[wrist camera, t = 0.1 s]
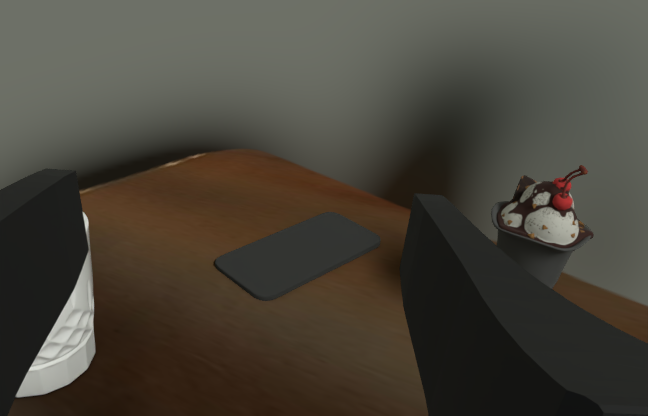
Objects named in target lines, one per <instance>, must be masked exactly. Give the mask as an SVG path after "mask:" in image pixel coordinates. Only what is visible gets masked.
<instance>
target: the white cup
mask: <svg viewBox="0 0 648 416" xmlns="http://www.w3.org/2000/svg"><path fill="white" fill-rule="evenodd" d="M83 217H84V223H85V229H86V235H87V241H88V247H89V251H88V254H87V257H86V260H85V262H84V265H83V268H82V271H81V273H80V276H79V278H78V281H77V284H76V286H75V289H74V290H73V292H72V294H71V296H70V298H69V300H68V302H67V303H66V305H65V307H64V309H63V311H62V312H61V314H60V316H59V318H58V320H57V321H56V323H55V325H54V327H53V328H52V330H51V332H50V334H49V335H48V337H47V339H46V341H45V342H44V344H43V346H42V348H41V349H40V351H39V353H38V355H37V357H36V358H35V360H34V362H33V364H32V365H31V367H30V369H29V371H28V372H27V374H26V376H25V378H24V380H23V382H22V384H21V386H20V388H19V390H18V392H17V394H16V396H15V397H27V396H36V395H44V394H47V393H49V392H52V391H54V390H56V389H59V388H61V387H64V386H66V385H68V384H70V383H71V382H72V381H74V380H75V379H76V378H77V377H78V376H80V375H81V374H82V373H83V372H84V371H86V370H87V369H88V367H89V365H90V363H91V361H92V358H93V356H94V354H95V340H94V328H93V317H94V298H93V275H92V263H91V250H90V237H89V223H88V218H87V216H86V215H85V213H84V212H83Z"/></svg>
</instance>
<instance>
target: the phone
mask: <svg viewBox="0 0 648 416" xmlns="http://www.w3.org/2000/svg"><path fill="white" fill-rule="evenodd" d="M379 245H380V237H379V236H378V235H377V234H375V233H373V232H371V231H370V230H368V229H366V228H364V227H362V226H360V225H358V224H357V223H355V222H353V221H351V220H349V219H347V218H345V217H344V216H342V215H340V214H337V213H334V212H326V213H323V214H320V215H318V216H315V217H313V218H311V219H308V220H306V221H303V222H301V223H299V224H296V225H294V226H291V227H289V228H287V229H284V230H282V231H279V232H277V233H275V234H272V235H270V236H267V237H265V238H263V239H260V240H258V241H255V242H253V243H251V244H248V245H246V246H243V247H241V248H239V249H236V250H234V251H231V252H229V253H226V254H224V255H222V256H220V257H218V258H217V259H216V261H215V266H216V268H217V269H218V270H219V271H220V272H221V273H223V274H224V275H225V276H227V277H228V278H229V279H231V280H232V281H233V282H234V283H236V284H237V285H238V286H240V287H241V288H242V289H244V290H245V291H246V292H248V293H249V294H250V295H252V296H253V297H254V298H256V299H259V300H262V301H269V300H273V299H276V298H278V297H280V296H282V295H284V294H286V293H288V292H290V291H292V290H294V289H296V288H298V287H300V286H302V285H304V284H306V283H308V282H310V281H312V280H314V279H316V278H318V277H320V276H322V275H324V274H326V273H328V272H330V271H332V270H334V269H336V268H338V267H340V266H342V265H344V264H346V263H348V262H350V261H352V260H354V259H356V258H358V257H360V256H362V255H364V254H366V253H368V252H369V251H371V250H373V249H375V248H377V247H378V246H379Z"/></svg>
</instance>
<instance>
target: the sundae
mask: <svg viewBox="0 0 648 416" xmlns="http://www.w3.org/2000/svg"><path fill="white" fill-rule="evenodd" d="M578 171H581V173H580V174H577V175H574V176H572V177H571V178H570V179H569V180H567V178H568V177H569V176H570V175H572V174H573V173H575V172H578ZM587 172H588V171H587V170H586V168H585V167H584V166H582V165H580V166H579V169H578V170H575V171H573V172H571V173H569V174H568V175H567V176H566V177H565V178H556V179H555V180H554V182H549V181H548V182H547V181H544V182H536V181H535V180H533V179H531V178H529V177H527V176H522V177H521V179H520V182H519V184H518V186H517V189H516V191H515V194H514V197H513V199H512V200H511V201H510V202H508V201H505V202H498V203H496V204H495V205H494V206H493V208H492V211H491V216H492V222H493V224H494V226H495V227H496V228H497V229H498V240H497V247H498V248H500V249H501V250H502V251H503V252H504V253H505V254H506V255H508V256H509V257H510V258H511V259H513V260H514V261H515V262H516V263H517V264H519V265H520V266H521V267H522V268H524V269H525V270H526V271H527V272H529V273H530V274H531V275H533V276H534V277H535V278H537V279H538V280H539V281H541V282H542V283H544V284H545V285H547V286H548V287H550V288H551V289H552V288H553V286H554V285H555V283H556V282H557V280H558V278H559V276H560V274H561V272H562V270H563V268H564V266H565V264H566V262H567V260H568V259H569V257H570V255H571V253H572V252H573V251H574V250H576V249H578V248H580V247H581V246H583V245H584V244H585V243H586V242H587V241H588V240H589V239H591V238H593V233H592V231H591V229H589V227H588V226H586V225H585V224H583V223H582V222H581V221H580V220H578V219H577V216H576V214H575V212H574V204H573V199H572V197H571V195H570V193H569V190H570V188H571V183H570V180H572V179H573V178H575V177H577V176H580V175H583V174H587Z"/></svg>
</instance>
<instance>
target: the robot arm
mask: <svg viewBox="0 0 648 416" xmlns="http://www.w3.org/2000/svg"><path fill="white" fill-rule="evenodd" d="M88 251H89V247H88V241H87V235H86V229H85V223H84V217H83V211H82V205H81V199H80V193H79V187H78V181H77V176H76V171H72V170H57V169H44V170H42V171H39V172H37V173H34V174H32V175H30V176H28V177H25V178H23V179H21V180H19V181H17V182H15V183H13V184H11V185H9V186H7V187H5V188H3V189H1V190H0V416H7V415H8V413H9V411H10V408H11V406H12V403H13V401H14V399H15V396H16V394H17V392H18V390H19V388H20V386H21V384H22V382H23V380H24V378H25V376H26V374H27V372H28V371H29V369H30V367H31V365H32V364H33V362H34V360H35V358H36V357H37V355H38V353H39V351H40V349H41V348H42V346H43V344H44V342H45V341H46V339H47V337H48V335H49V334H50V332H51V330H52V328H53V327H54V325H55V323H56V321H57V320H58V318H59V316H60V314H61V312H62V311H63V309H64V307H65V305H66V303H67V302H68V300H69V298H70V296H71V294H72V292H73V290H74V289H75V286H76V284H77V281H78V278H79V276H80V273H81V271H82V268H83V265H84V262H85V260H86V257H87V254H88ZM400 277H401V288H402V297H403V306H404V311H405V315H406V319H407V324H408V328H409V332H410V336H411V340H412V344H413V348H414V352H415V356H416V360H417V364H418V369H419V373H420V377H421V381H422V385H423V389H424V393H425V398H426V403H427V408H428V414H429V416H648V344H647V343H645V342H643V341H641V340H639V339H637V338H635V337H633V336H631V335H629V334H627V333H625V332H623V331H621V330H619V329H617V328H615V327H613V326H612V325H610V324H608V323H606V322H605V321H603V320H601V319H599V318H597V317H596V316H594V315H592V314H590V313H589V312H587V311H585V310H583V309H582V308H580V307H578V306H577V305H575V304H574V303H572V302H570V301H569V300H567V299H566V298H564V297H563V296H561V295H560V294H558V293H557V292H555V291H554V290H552V289H551V288H550V287H548V286H547V285H545V284H544V283H542V282H541V281H539V280H538V279H537V278H535V277H534V276H533V275H531V274H530V273H529V272H527V271H526V270H525V269H524V268H522V267H521V266H520V265H519V264H517V263H516V262H515V261H514V260H513V259H511V258H510V257H509V256H508V255H506V254H505V253H504V252H503V251H502V250H501V249H500V248H498V247H497V246H496V245H495V244H494V243H493V242H492V241H491V240H489V239H488V238H487V237H486V236H485V235H484V234H483V233H482V232H481V231H480V230H479V229H478V228H477V227H475V226H474V225H473V224H472V223H471V222H470V221H469V220H468V219H467V218H466V217H465V216H464V215H463V214H462V213H461V212H460V211H459V210H458V209H457V208H456V207H455V206H454V205H453V204H451V203H450V202H449V201H448V200H447V199H446V198H445V197H443V196H442V195H429V194H414V198H413V203H412V208H411V213H410V219H409V224H408V229H407V234H406V239H405V244H404V249H403V254H402V259H401V264H400Z"/></svg>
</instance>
